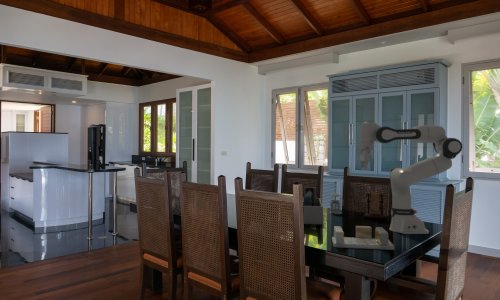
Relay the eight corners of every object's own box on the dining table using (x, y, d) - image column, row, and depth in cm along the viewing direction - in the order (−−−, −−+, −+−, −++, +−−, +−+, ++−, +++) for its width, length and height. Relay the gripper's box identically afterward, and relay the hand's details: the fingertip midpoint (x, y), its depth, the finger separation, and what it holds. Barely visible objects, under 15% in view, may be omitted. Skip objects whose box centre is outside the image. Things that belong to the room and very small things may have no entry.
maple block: (355, 237, 207) (355, 225, 207) (370, 238, 206) (370, 226, 206) (356, 239, 203) (356, 227, 203) (371, 240, 202) (371, 227, 202)
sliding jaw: (382, 238, 197) (382, 227, 197) (388, 245, 183) (388, 233, 183) (374, 237, 198) (374, 227, 198) (380, 244, 184) (380, 233, 184)
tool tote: (320, 213, 282) (320, 198, 282) (322, 224, 242) (322, 206, 242) (302, 212, 284) (302, 197, 284) (301, 223, 244) (301, 206, 244)
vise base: (387, 242, 197) (388, 228, 197) (394, 249, 183) (394, 234, 183) (331, 240, 201) (332, 226, 201) (334, 247, 187) (334, 231, 187)
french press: (332, 211, 292) (332, 180, 292) (346, 212, 285) (346, 181, 285) (326, 212, 285) (327, 181, 284) (340, 214, 277) (340, 182, 277)
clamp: (313, 223, 246) (313, 192, 245) (300, 223, 248) (300, 192, 247) (315, 214, 280) (315, 187, 279) (304, 214, 282) (304, 186, 281)
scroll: (363, 219, 259) (363, 191, 259) (365, 215, 273) (365, 189, 273) (385, 221, 253) (385, 193, 253) (386, 217, 267) (386, 190, 267)
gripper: (374, 147, 217) (371, 169, 217) (368, 147, 237) (366, 167, 238) (363, 146, 218) (361, 168, 218) (358, 146, 238) (356, 166, 239)
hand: (363, 168), depth 228 cm, fingers open, 8 cm apart
